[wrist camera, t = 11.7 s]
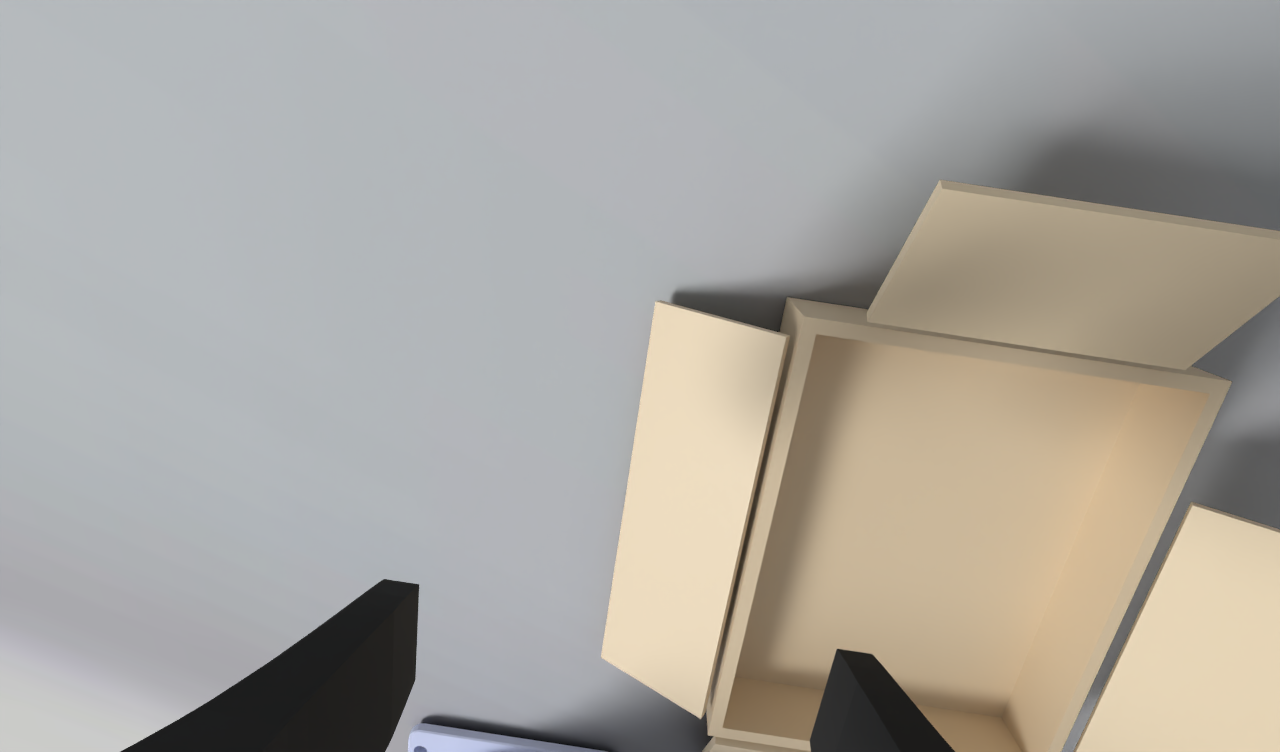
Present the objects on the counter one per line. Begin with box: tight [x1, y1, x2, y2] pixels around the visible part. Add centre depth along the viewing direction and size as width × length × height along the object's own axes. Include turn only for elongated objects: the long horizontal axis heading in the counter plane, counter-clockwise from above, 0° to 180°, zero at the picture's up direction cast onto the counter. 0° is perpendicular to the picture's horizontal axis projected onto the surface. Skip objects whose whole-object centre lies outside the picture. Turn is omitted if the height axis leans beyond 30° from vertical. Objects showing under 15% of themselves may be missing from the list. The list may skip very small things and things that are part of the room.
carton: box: [601, 297, 1232, 752], centre depth 20 cm, size 18×15×3 cm
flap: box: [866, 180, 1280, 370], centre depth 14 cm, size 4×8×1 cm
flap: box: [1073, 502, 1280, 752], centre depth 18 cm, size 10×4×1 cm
